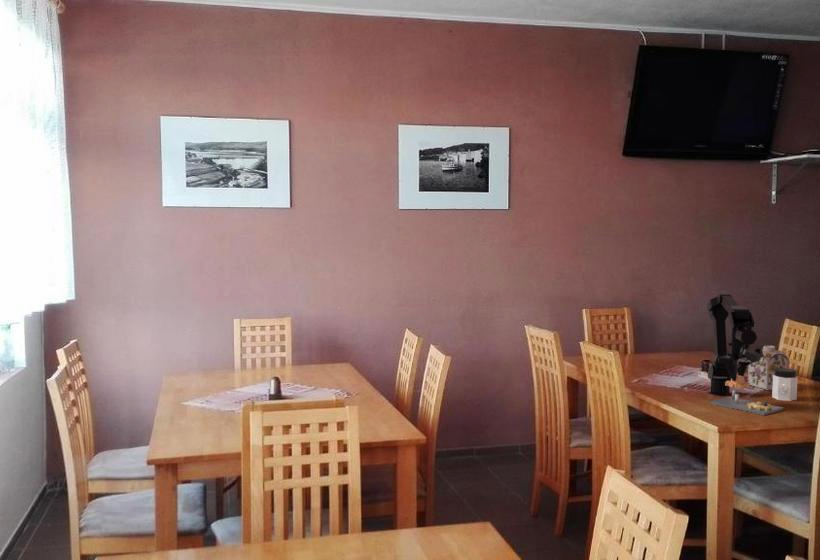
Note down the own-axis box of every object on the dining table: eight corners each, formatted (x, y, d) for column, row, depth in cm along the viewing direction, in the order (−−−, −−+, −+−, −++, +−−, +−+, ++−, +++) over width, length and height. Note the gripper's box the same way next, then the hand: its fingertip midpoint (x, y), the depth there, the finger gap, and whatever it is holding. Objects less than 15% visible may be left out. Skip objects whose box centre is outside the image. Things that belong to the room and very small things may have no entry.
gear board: (710, 403, 293) (710, 392, 293) (730, 399, 301) (730, 388, 301) (763, 415, 275) (764, 403, 275) (783, 410, 283) (784, 398, 283)
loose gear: (720, 385, 291) (721, 375, 290) (733, 382, 296) (733, 373, 296) (741, 389, 284) (742, 379, 283) (754, 386, 289) (754, 377, 288)
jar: (771, 399, 301) (772, 370, 300) (772, 395, 308) (773, 367, 307) (796, 402, 296) (797, 372, 296) (796, 398, 304) (798, 369, 303)
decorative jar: (788, 389, 320) (790, 347, 319) (767, 390, 317) (768, 349, 316) (767, 383, 332) (769, 343, 330) (746, 385, 328) (748, 344, 327)
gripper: (745, 345, 276) (743, 386, 278) (772, 341, 287) (770, 381, 288) (717, 341, 286) (716, 381, 287) (744, 337, 296) (743, 376, 297)
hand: (737, 380), depth 290 cm, fingers closed on loose gear, 4 cm apart
